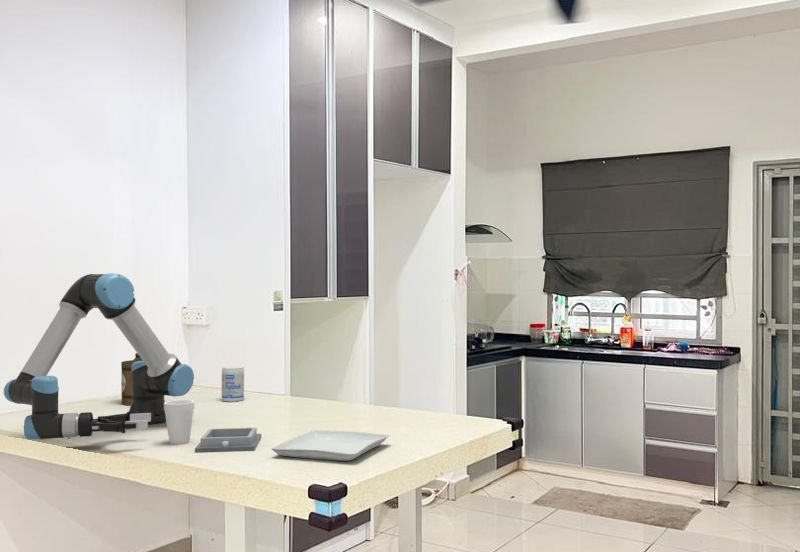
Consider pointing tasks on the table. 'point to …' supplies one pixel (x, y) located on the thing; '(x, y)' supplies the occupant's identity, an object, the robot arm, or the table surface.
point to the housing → (229, 440)
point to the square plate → (330, 445)
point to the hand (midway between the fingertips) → (149, 420)
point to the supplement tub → (232, 383)
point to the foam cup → (179, 420)
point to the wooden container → (127, 380)
